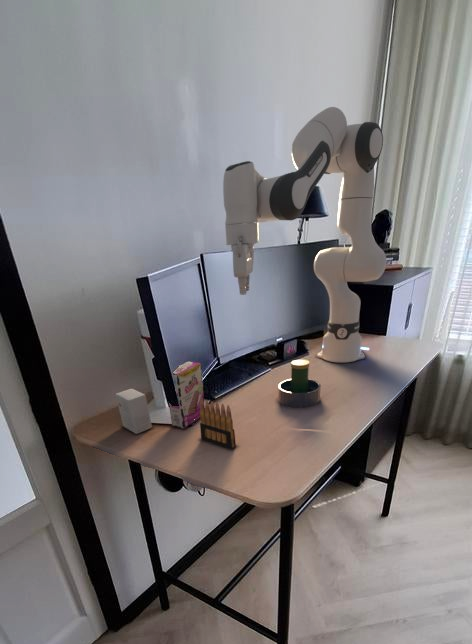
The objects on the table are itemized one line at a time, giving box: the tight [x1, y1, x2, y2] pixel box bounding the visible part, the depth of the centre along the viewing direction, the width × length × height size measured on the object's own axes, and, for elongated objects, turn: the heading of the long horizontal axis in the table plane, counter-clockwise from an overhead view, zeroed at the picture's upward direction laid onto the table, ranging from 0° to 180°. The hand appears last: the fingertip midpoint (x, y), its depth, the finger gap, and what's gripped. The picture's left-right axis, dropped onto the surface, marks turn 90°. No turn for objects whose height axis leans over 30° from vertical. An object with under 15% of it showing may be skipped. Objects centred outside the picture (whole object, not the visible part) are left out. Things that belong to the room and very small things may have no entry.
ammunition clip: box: [199, 398, 237, 450], centre depth 105 cm, size 11×2×12 cm, turn 53°
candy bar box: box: [168, 361, 205, 430], centre depth 117 cm, size 11×5×16 cm, turn 149°
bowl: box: [277, 378, 322, 409], centre depth 128 cm, size 13×13×5 cm
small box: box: [114, 388, 153, 435], centre depth 117 cm, size 8×6×10 cm
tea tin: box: [290, 359, 310, 393], centre depth 126 cm, size 5×5×12 cm
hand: (244, 292), depth 116 cm, fingers open, 8 cm apart
